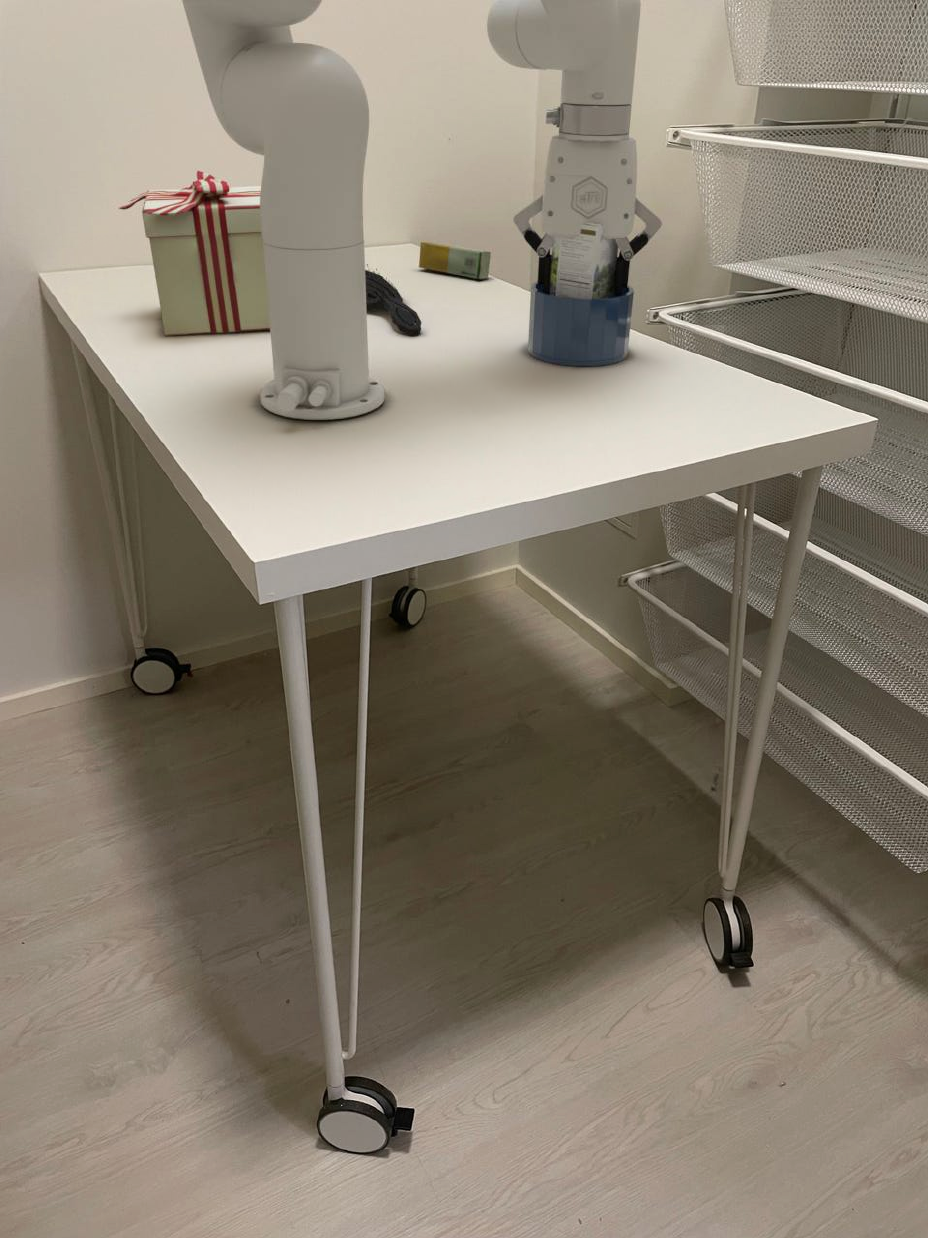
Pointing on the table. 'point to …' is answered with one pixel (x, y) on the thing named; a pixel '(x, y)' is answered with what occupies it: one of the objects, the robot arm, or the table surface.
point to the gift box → (207, 256)
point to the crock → (579, 328)
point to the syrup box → (584, 265)
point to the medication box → (455, 260)
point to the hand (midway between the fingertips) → (581, 291)
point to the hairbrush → (390, 303)
